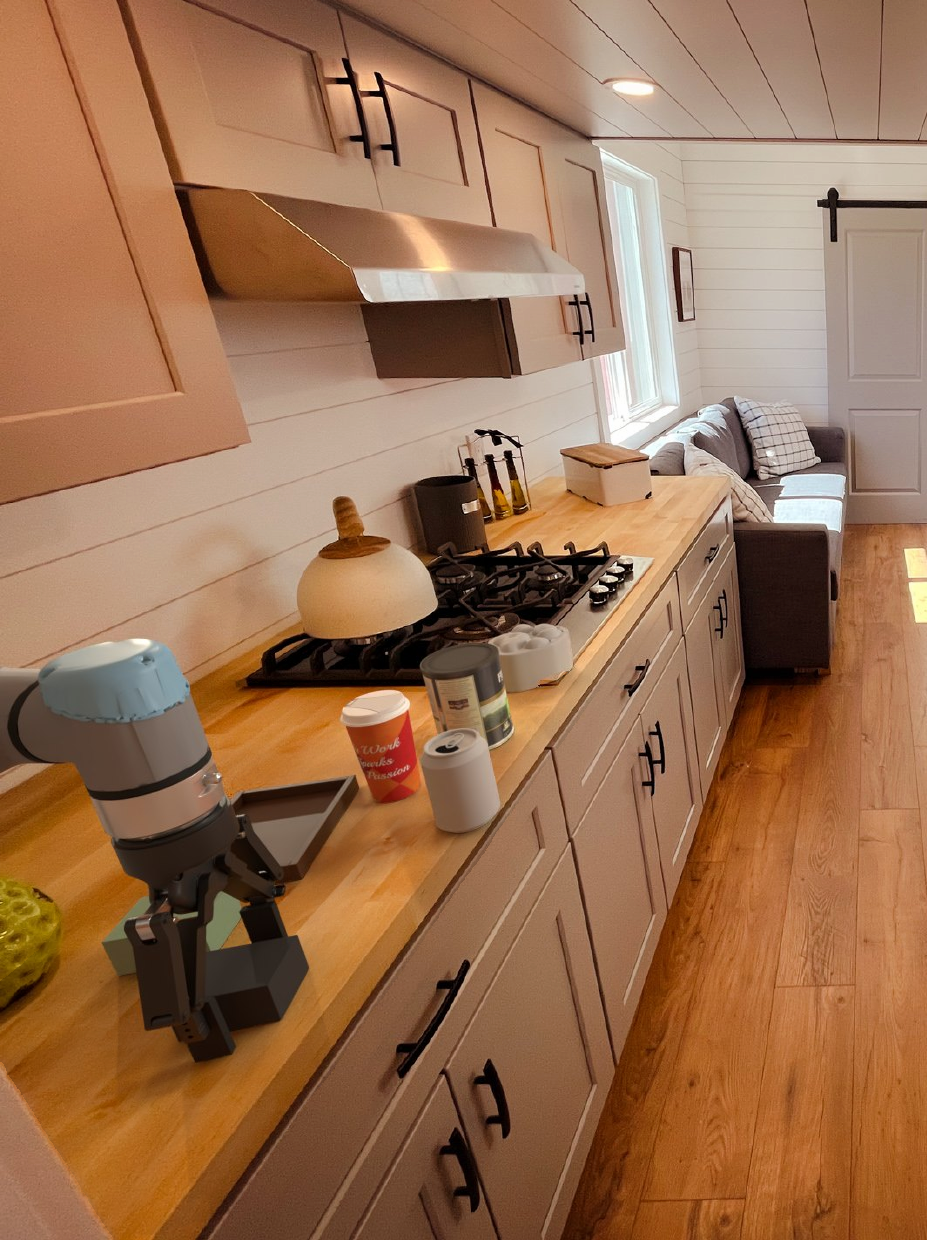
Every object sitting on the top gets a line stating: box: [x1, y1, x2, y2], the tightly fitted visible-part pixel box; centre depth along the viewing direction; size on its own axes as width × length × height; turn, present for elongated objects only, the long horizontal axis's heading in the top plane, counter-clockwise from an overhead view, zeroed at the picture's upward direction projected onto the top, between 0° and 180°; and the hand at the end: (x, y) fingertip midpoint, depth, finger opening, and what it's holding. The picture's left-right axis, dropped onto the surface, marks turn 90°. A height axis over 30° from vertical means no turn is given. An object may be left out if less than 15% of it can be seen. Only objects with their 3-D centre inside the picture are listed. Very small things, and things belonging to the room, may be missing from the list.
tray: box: [230, 774, 360, 885], centre depth 90 cm, size 14×18×2 cm
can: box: [419, 728, 501, 834], centre depth 93 cm, size 8×8×12 cm
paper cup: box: [339, 689, 421, 804], centre depth 98 cm, size 8×8×14 cm
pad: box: [101, 891, 243, 977], centre depth 75 cm, size 8×6×4 cm
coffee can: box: [419, 642, 515, 751], centre depth 110 cm, size 10×10×14 cm
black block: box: [171, 934, 310, 1043], centre depth 69 cm, size 8×6×4 cm
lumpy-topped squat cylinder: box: [487, 623, 574, 694], centre depth 130 cm, size 10×13×9 cm
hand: (248, 1001), depth 70 cm, fingers open, 10 cm apart
